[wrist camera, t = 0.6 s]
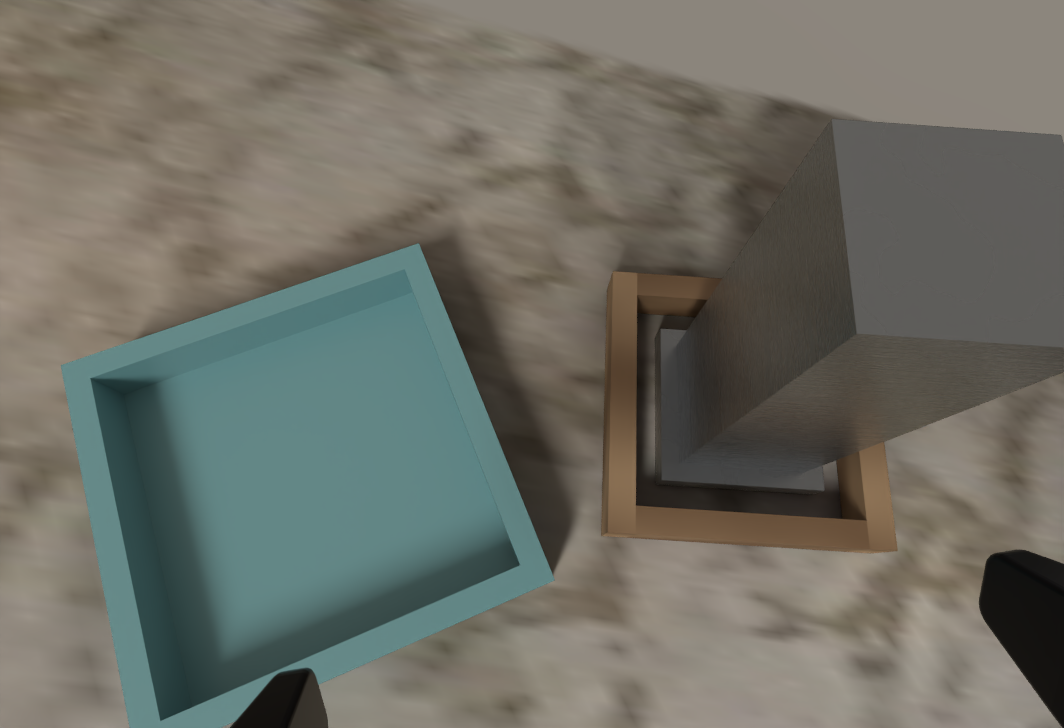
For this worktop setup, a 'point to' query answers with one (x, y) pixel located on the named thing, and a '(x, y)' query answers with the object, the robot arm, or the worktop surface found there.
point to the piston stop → (869, 305)
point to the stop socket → (857, 531)
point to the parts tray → (292, 490)
